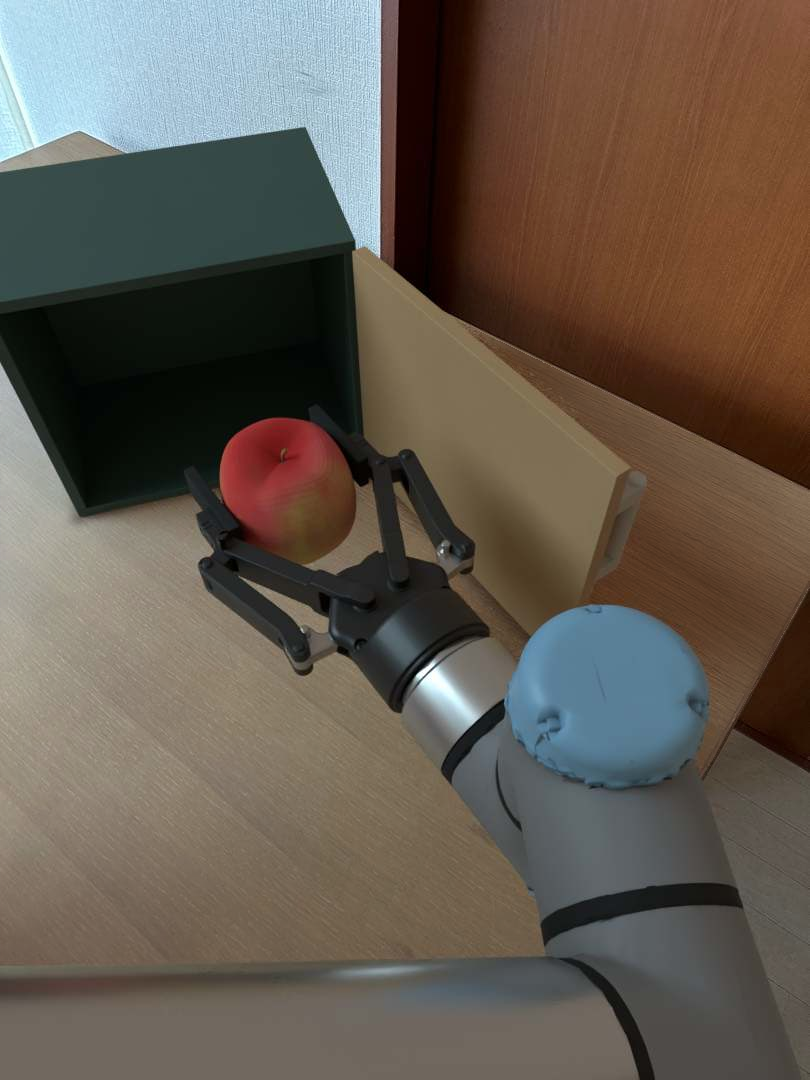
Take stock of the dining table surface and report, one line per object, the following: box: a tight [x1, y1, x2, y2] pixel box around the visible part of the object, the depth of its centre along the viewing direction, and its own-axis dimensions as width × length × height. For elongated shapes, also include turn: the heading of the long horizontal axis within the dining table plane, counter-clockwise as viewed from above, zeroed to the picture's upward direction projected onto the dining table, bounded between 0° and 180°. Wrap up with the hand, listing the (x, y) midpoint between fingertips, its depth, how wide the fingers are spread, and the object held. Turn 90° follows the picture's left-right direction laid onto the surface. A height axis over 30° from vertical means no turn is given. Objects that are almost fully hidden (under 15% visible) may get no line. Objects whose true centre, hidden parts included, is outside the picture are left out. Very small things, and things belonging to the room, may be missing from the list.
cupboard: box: [0, 126, 364, 518], centre depth 76 cm, size 18×28×24 cm, turn 106°
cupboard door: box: [352, 245, 648, 638], centre depth 67 cm, size 7×28×24 cm, turn 36°
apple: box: [219, 418, 357, 566], centre depth 58 cm, size 10×10×10 cm
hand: (255, 449), depth 60 cm, fingers closed on apple, 9 cm apart
